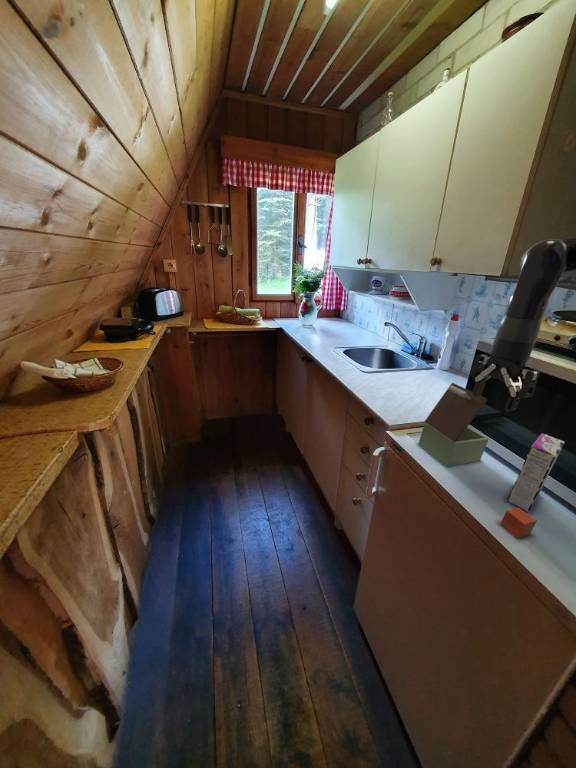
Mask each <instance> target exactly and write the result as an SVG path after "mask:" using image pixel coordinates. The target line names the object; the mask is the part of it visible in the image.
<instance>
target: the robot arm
mask: <svg viewBox="0 0 576 768" xmlns="http://www.w3.org/2000/svg"><path fill="white" fill-rule="evenodd" d="M519 265H520V272H519V276H518V278H517V282H516V285H515V288H514V290H513V291H512V293H511V294H510V296H509V299H508V300H507V301H508V302H507V304H506V307H505V310H504V313H503V316H502V318H501V320H500V322H499V324H498V327H497V329H496V333H495V336H494V339H493V342H492V345H491V347H490V350H489V356H488V355H487V354H477V355H476V357H475V359H474V362H473V364H472V367H471V369H470V371H469V377H470V378H473V379H474V381H475V382H474V385H473V387H472V392H473V396H475V397H480V396H482V395H483V392H484V389H485V386H486V381H488V380H489V379H491V378H492V379H494V380H498V381H500V382H502V383H504V384H505V386H506V387H507V388H508V390H509V393H510V395H509V396H508V398H507V400H506V403H505V406H504V408H503V410H504V411H505V412H513V411H515V410H516V409H517V408H518V405H519V403H520V401H521V399H522V398H532V397H533V395H534V392H535V389H536V386H537V383H538V380H539V378H540V373H541V372H540V371H539V370H530V369H527V368H526V364H527V363H528V361H529V359H530V357H531V354H532V352H533V349H534V347H535V344H536V342H537V339H538V336H539V333H540V331H541V325H542V321H543V319H544V316H545V314H546V311H547V308H548V306H549V302H550V299H551V296H552V294H553V293H554V291H555V290H556V288H557V285H558V283H559V282H560V280H561V278H562V276H563V274H565V273H569V272H575V271H576V236H573V237H567V238H562V239H557V238H547V239H544V240H540V241H538V242H536V243H534V244H533V245H532V246H530V247H529V248H528V249H527V250H526V251H525V252H524V253H523V255H522V256H521V259H520V264H519ZM485 365H486V367H487V368H486V369H484V368H485ZM521 376H522V379H523V382H522V380H521Z"/></svg>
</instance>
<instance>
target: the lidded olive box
mask: <svg viewBox="0 0 576 768" xmlns="http://www.w3.org/2000/svg"><path fill="white" fill-rule="evenodd" d="M489 440H490V439H489V438H488V437H487V436H485V435H484V434H481V433H480V432H478V431H476V430H474V429H473V428H471V427H470V426H468V427H467V428H466V429H465V431H464V432H463V433H462V435H461V436H460V437H459V439H458V440H457V441H456V442H454V441H452V440H451V439H449V438H448V437H446V436H445V435H443V434H442V433H441V432H439V431H438V430H436V429H435V428H433V427H432V426H430V425H429V424H427V423H426V422H424V425H423V428H422V431H421V434H420V438H419V441H418V443H417V444H418V446H419V447H421V448H422V449H423V450H425V451H426V452H427V453H429V454H430V455H431V456H432V457H433V458H435V459H436V460H437V461H438V462H440V463H441V464H442V465H443V466H445V467H452V466H459V465H464V464H470V463H475V462H481V459H482V457H483V454H484V452H485V450H486V447H487V445H488V443H489Z"/></svg>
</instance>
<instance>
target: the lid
mask: <svg viewBox="0 0 576 768" xmlns="http://www.w3.org/2000/svg"><path fill="white" fill-rule="evenodd" d="M487 402H488V398H487V397H484V396H482V395H481V396H480V397H475V396H473V391H472V390H469V389H468V388H465V387H463V386H461V385H458V384H456V383H455V382H451V384H449V386H448V388H447V389H446V390H445V392H444V393H443V395H441V397H440V398H439V400H438V401H437V403H436V405H435V406H434V407H433V409H432V410H431V411H430V413H429V414H428V416H427V417H426V419H425V420H424V423H427V424H429V425H430V426H432V427H433V428H435V429H436V430H438V431H439V432H441V433H442V434H443V435H445V436H446V437H448V438H449V439H451V440H452V441H454V442H456V441H457V440H458V439H459V437H460V436H461V435H462V433H463V432H464V431H465V429H466V428H467V427H469V425H470V424H471V422H472V421H473V420H474V419H475V417H476V416H477V415H478V413H479V412H480V411H481V409H482V408H483V407H484V405H485V404H486V403H487Z"/></svg>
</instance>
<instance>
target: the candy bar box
mask: <svg viewBox="0 0 576 768" xmlns="http://www.w3.org/2000/svg"><path fill="white" fill-rule="evenodd" d="M564 445H565V441H564V440H561V439H559V438H556V437H554V436H551V435H549V434H547V433H546V434H545V433H540V435H539V436H538V438H536V440H535V441H534V442H533V444H532V445H531V446H530V448H529V450H528V453H527V455H526V457H525V459H524V462H523V464H522V466H521V469H520V471H519V473H518V476H517V478H516V480H515V483H514V485H513V487H512V489H511V491H510V493H509V496H508V498H507V502H509V503H510V504H511V505H514V506H516V507H517V508H518V507H519V508H520V509H522V510H523V511H524V512H526V513H529V512H530V511H531V510H532V508H533V506H534V504H535V503H536V501H537V499H538V498H539V495H540V494H541V492H542V489H543V487H544V485H545V483H546V481H547V479H548V477H549V475H550V473H551V471H552V469H553V467H554V465H555V463H556V461H557V459H558V457H559V455H560V453H561V452H562V449H563V447H564Z"/></svg>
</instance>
